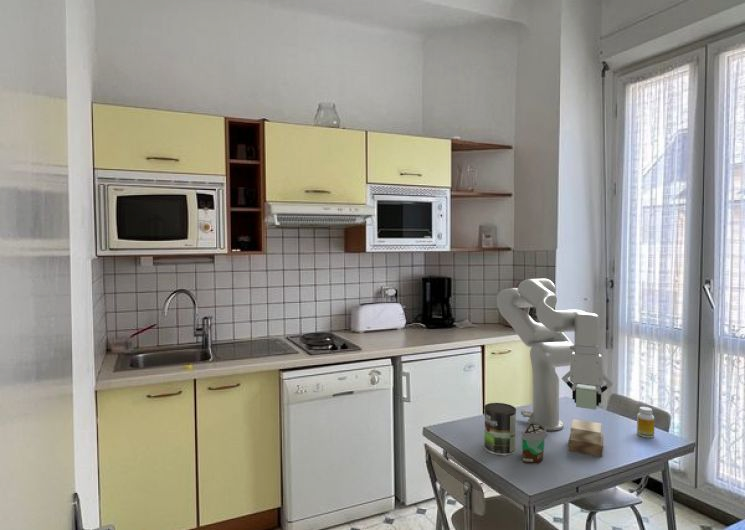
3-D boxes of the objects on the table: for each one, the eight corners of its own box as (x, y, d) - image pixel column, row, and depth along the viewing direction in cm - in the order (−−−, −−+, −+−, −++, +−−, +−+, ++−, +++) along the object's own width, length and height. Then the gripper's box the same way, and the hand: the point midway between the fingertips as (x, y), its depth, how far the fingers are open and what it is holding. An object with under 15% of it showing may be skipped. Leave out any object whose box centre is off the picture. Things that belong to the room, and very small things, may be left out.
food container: (542, 469, 138) (542, 437, 138) (521, 464, 142) (521, 432, 141) (550, 454, 149) (550, 424, 149) (530, 450, 152) (531, 420, 152)
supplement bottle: (656, 438, 161) (657, 411, 161) (640, 437, 162) (640, 410, 162) (650, 432, 166) (651, 406, 166) (634, 431, 167) (634, 405, 167)
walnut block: (568, 451, 152) (568, 440, 152) (571, 440, 160) (571, 429, 160) (602, 458, 147) (602, 446, 147) (603, 446, 156) (603, 435, 156)
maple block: (570, 439, 152) (570, 427, 152) (572, 430, 160) (572, 419, 160) (600, 444, 148) (600, 432, 148) (601, 435, 156) (601, 423, 156)
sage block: (576, 406, 152) (576, 389, 152) (577, 401, 157) (577, 384, 157) (596, 409, 149) (596, 391, 149) (597, 404, 154) (597, 386, 154)
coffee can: (497, 458, 146) (497, 414, 146) (477, 445, 156) (478, 404, 155) (522, 452, 150) (522, 410, 150) (502, 440, 160) (502, 400, 159)
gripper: (557, 349, 154) (557, 402, 154) (615, 354, 145) (615, 410, 146) (560, 345, 160) (560, 396, 161) (616, 350, 152) (616, 404, 152)
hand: (586, 402), depth 153 cm, fingers closed on sage block, 6 cm apart
